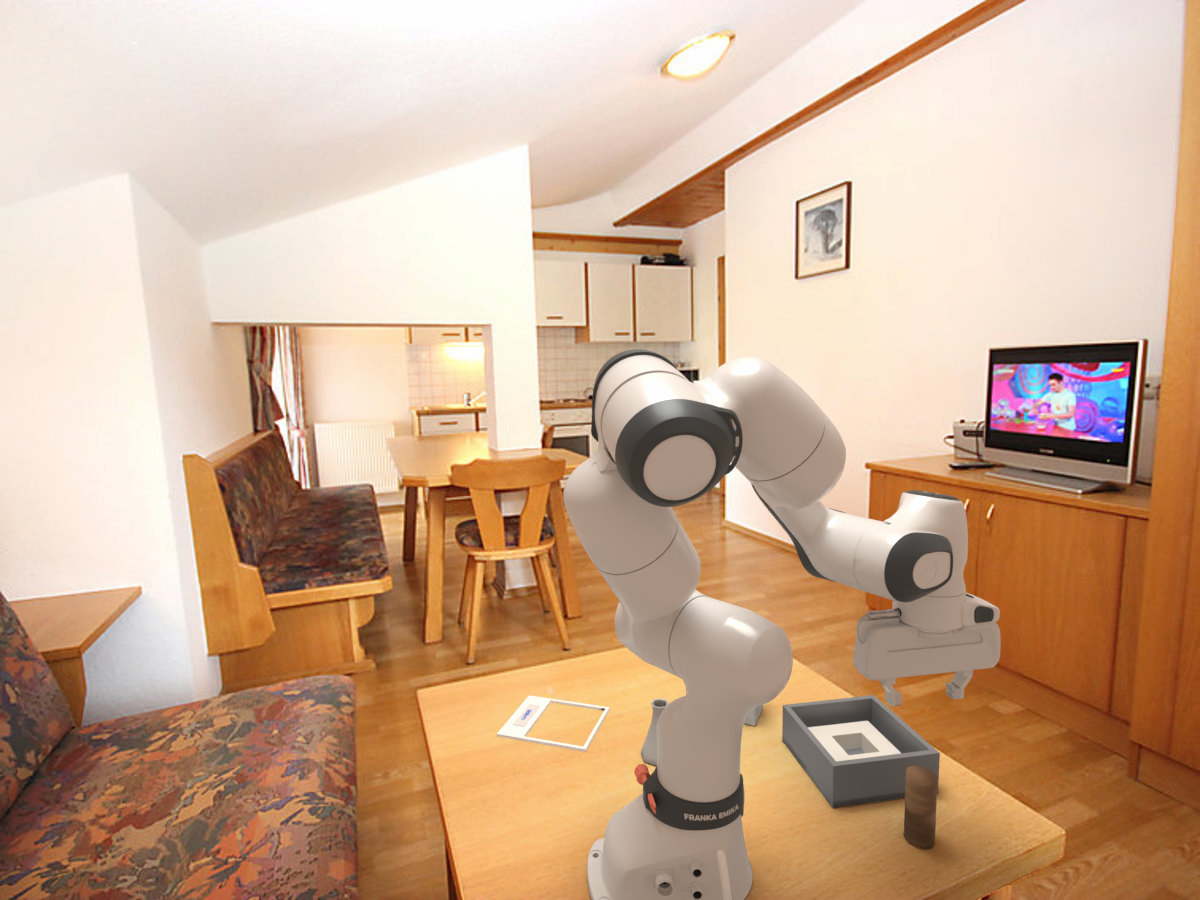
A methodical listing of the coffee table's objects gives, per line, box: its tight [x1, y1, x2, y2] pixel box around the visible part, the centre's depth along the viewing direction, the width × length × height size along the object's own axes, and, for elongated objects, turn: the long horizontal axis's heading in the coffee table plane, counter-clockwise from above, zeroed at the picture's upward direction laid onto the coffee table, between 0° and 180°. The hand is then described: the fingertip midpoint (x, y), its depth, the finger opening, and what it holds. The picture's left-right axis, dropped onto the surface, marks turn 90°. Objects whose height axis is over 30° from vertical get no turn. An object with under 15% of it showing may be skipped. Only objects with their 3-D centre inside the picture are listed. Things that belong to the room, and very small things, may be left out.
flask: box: [640, 697, 670, 767], centre depth 110 cm, size 7×7×10 cm
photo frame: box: [496, 695, 610, 753], centre depth 121 cm, size 15×1×18 cm
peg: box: [903, 766, 938, 850], centre depth 88 cm, size 4×4×10 cm
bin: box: [781, 694, 941, 809], centre depth 105 cm, size 18×18×7 cm
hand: (924, 700), depth 87 cm, fingers open, 8 cm apart
